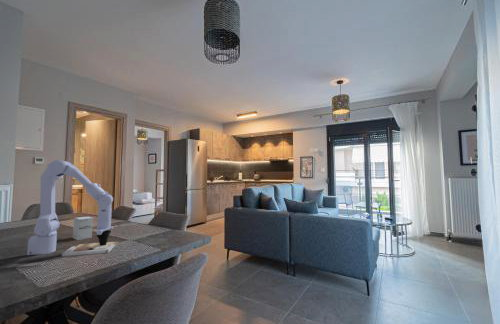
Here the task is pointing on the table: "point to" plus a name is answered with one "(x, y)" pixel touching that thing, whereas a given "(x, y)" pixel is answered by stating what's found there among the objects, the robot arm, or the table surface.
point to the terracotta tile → (82, 248)
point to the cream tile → (101, 247)
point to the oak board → (95, 244)
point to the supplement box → (82, 228)
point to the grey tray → (70, 253)
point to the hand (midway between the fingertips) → (103, 246)
